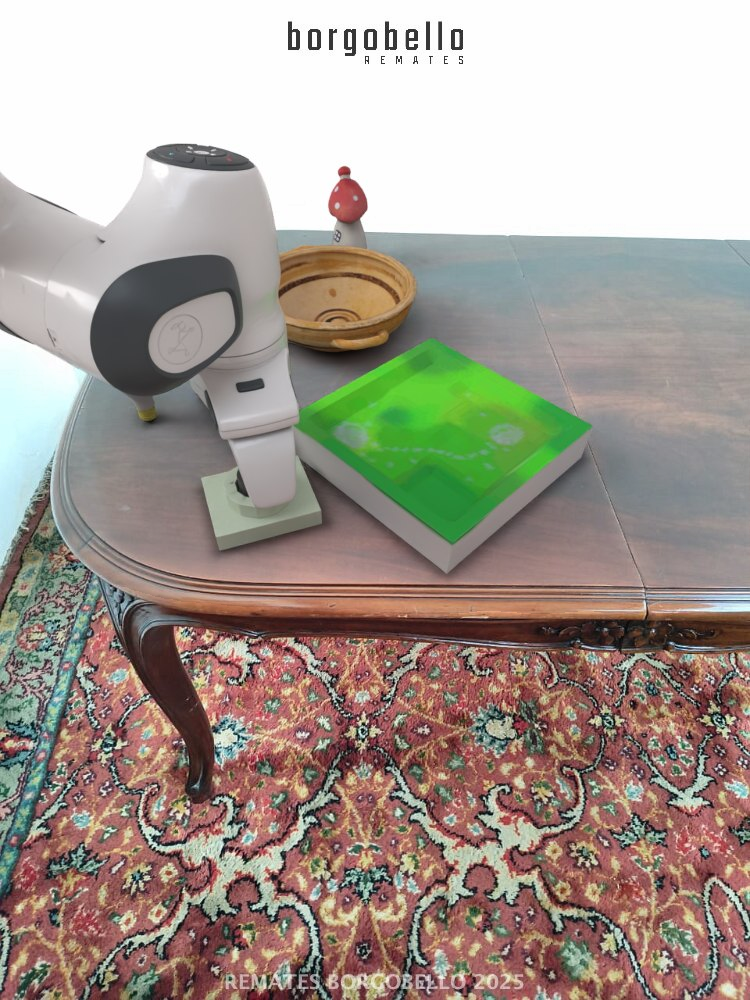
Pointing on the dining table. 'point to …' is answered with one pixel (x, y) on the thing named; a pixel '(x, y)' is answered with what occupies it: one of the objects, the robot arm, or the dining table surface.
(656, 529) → the dining table surface
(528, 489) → the tray
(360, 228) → the decorative ornament
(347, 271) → the ceramic bowl
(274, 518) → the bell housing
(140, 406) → the light bulb
